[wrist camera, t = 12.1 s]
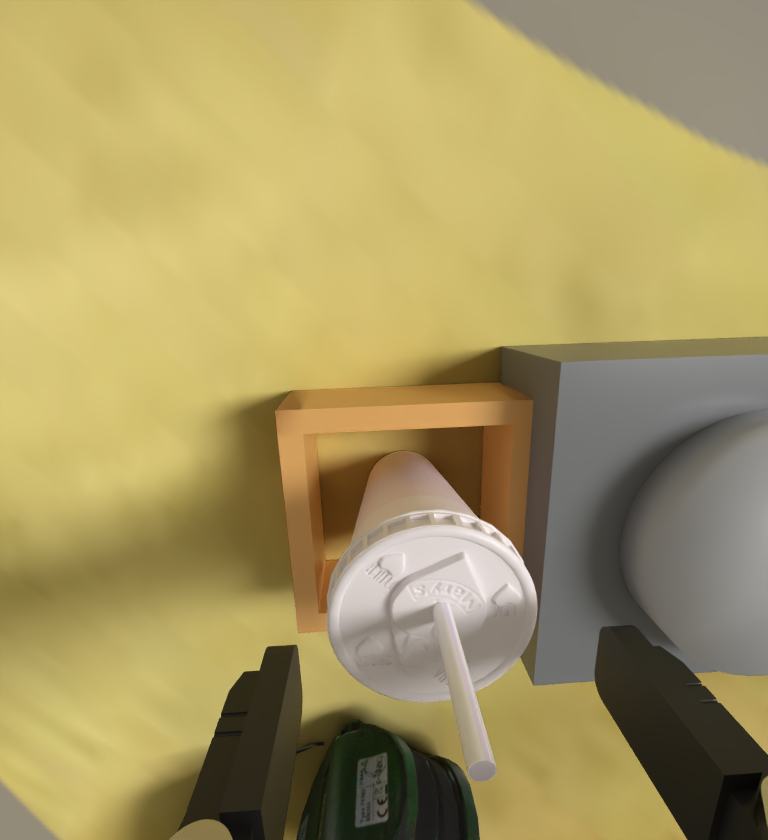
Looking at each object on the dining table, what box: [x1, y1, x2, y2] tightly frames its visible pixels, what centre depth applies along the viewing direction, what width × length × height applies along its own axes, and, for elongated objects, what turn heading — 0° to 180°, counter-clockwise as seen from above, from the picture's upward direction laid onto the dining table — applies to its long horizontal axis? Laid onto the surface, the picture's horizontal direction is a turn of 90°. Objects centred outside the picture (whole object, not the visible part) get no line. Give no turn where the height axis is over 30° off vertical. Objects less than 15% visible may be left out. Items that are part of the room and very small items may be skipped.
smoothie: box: [327, 451, 537, 782], centre depth 14 cm, size 6×6×14 cm
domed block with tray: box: [275, 337, 768, 686], centre depth 18 cm, size 26×14×8 cm, turn 92°
